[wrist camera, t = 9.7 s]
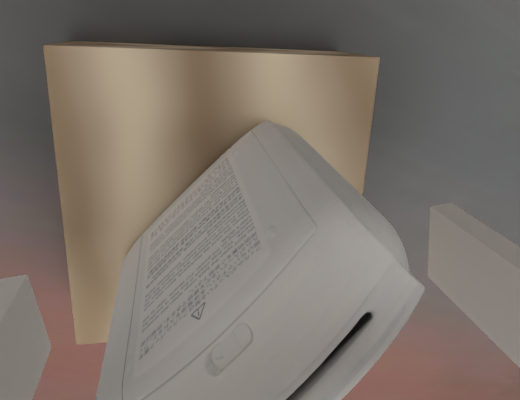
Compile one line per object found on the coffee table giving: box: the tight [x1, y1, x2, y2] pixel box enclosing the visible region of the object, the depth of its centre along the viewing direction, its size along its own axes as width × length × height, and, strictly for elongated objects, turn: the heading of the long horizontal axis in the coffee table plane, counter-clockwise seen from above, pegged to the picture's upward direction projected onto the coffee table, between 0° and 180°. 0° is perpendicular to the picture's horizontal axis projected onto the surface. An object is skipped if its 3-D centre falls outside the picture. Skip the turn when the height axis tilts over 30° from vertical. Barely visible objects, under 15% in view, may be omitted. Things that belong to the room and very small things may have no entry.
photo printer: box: [96, 120, 425, 400], centre depth 16 cm, size 10×4×12 cm, turn 133°
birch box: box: [43, 41, 380, 345], centre depth 25 cm, size 14×14×6 cm
